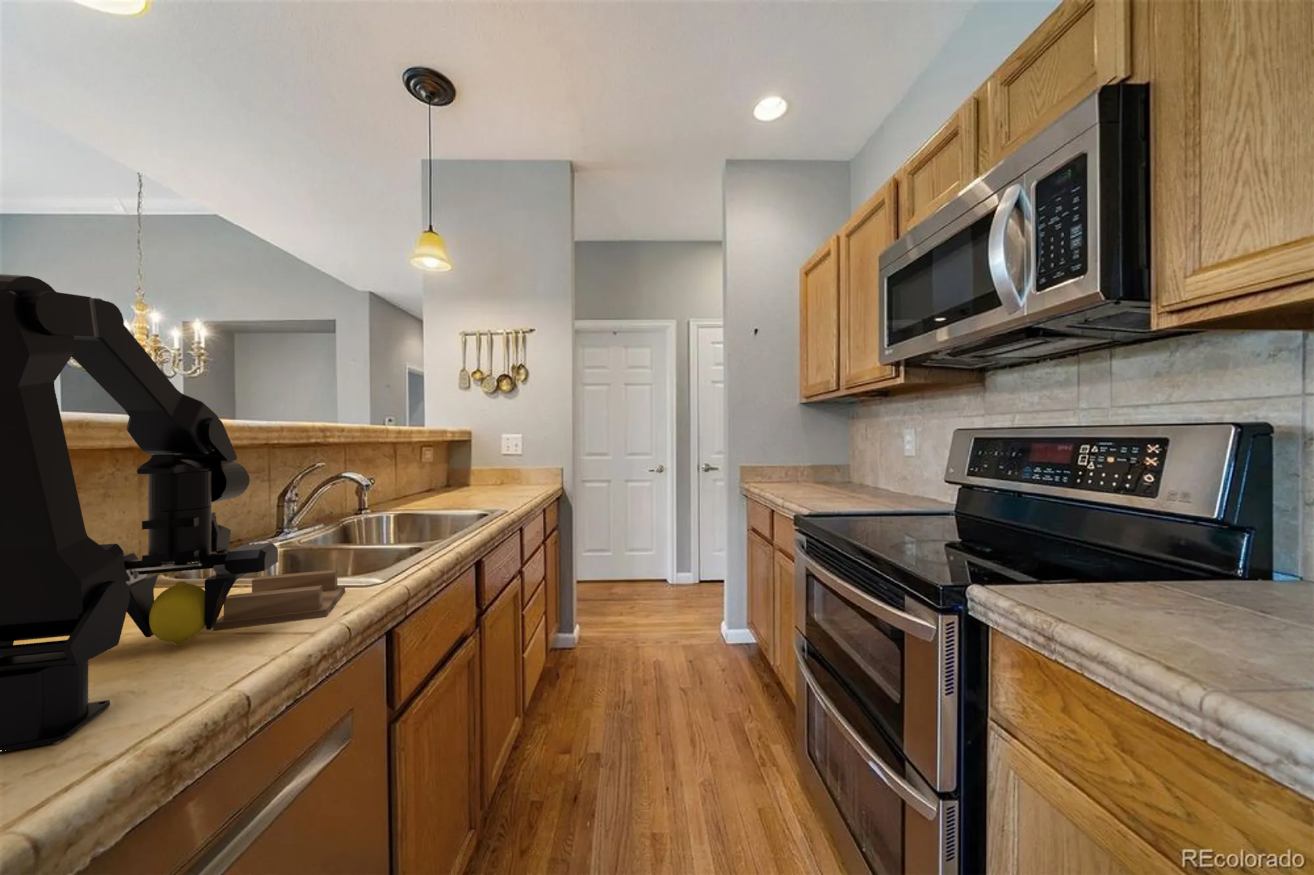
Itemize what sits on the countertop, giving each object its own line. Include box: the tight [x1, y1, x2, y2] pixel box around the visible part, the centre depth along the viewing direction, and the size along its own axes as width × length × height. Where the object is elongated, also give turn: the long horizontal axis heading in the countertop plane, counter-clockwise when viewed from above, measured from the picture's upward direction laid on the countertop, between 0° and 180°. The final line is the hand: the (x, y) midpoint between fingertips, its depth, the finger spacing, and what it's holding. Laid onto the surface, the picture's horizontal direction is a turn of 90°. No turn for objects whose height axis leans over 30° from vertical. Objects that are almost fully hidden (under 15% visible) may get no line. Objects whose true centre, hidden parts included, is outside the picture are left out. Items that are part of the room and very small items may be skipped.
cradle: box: [212, 569, 346, 631], centre depth 74 cm, size 13×13×4 cm
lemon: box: [149, 581, 206, 646], centre depth 61 cm, size 6×6×8 cm
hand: (180, 632), depth 61 cm, fingers closed on lemon, 5 cm apart
